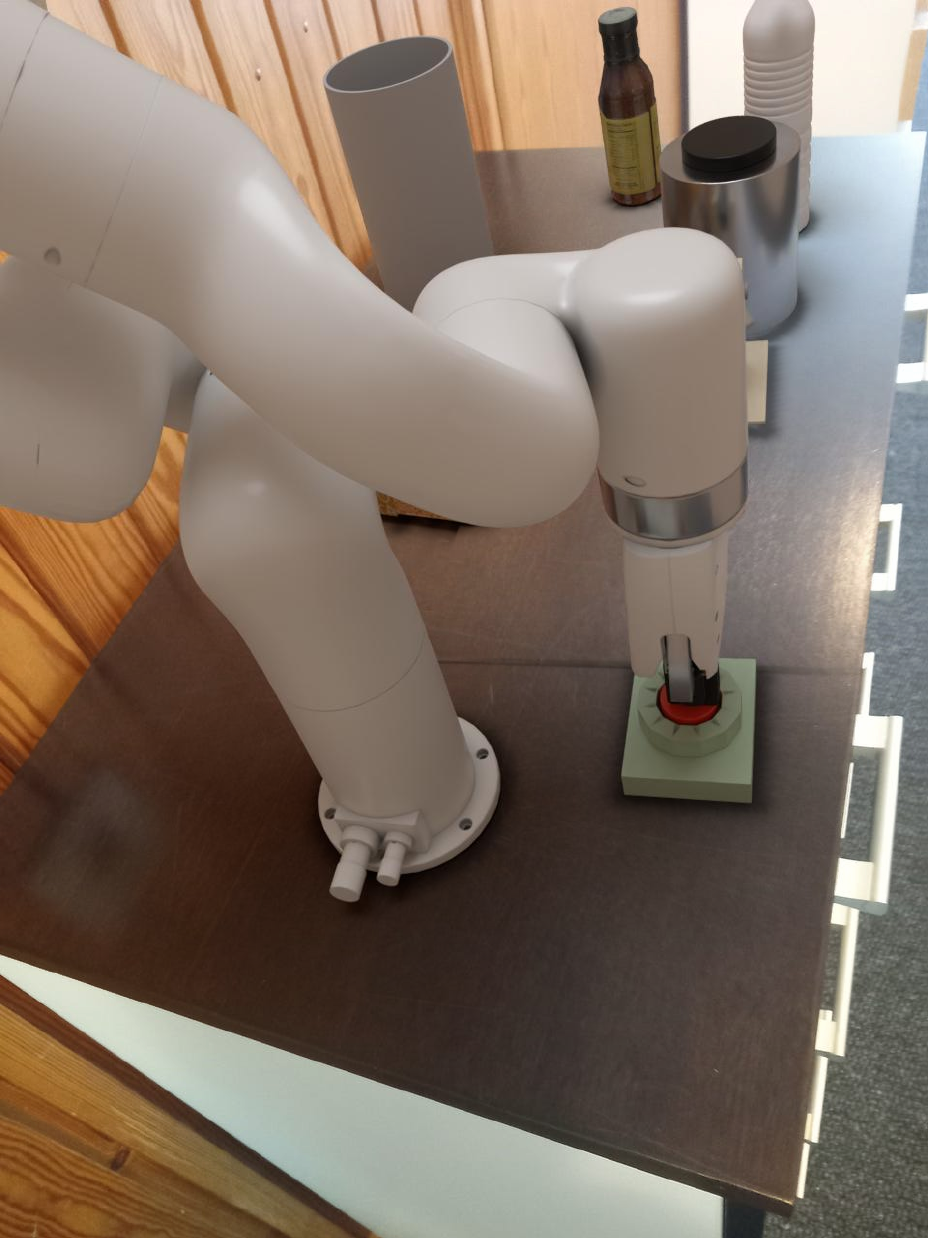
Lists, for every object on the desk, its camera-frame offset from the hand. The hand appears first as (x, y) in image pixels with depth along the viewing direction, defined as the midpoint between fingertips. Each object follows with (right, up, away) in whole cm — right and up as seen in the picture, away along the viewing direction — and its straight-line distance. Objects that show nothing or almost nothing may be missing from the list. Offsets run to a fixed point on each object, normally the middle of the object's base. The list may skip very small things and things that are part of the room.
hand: (694, 694), depth 66 cm
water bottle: (+19, +46, +44) cm, 66 cm away
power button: (0, -1, +1) cm, 2 cm away
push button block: (+1, -3, +3) cm, 4 cm away
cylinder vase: (-17, +40, +48) cm, 65 cm away
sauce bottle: (+6, +55, +55) cm, 78 cm away
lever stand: (+8, +25, +27) cm, 38 cm away
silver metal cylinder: (+12, +35, +35) cm, 51 cm away
